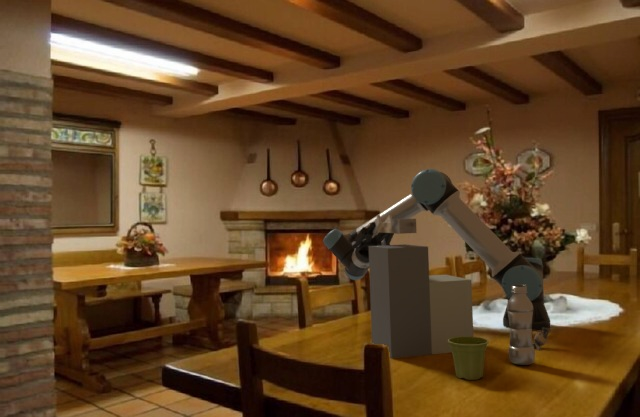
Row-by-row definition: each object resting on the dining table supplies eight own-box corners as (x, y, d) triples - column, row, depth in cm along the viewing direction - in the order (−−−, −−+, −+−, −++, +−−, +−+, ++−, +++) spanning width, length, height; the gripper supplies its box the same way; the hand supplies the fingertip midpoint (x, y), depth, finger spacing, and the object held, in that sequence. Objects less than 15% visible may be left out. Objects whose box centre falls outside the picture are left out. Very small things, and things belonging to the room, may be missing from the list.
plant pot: (443, 372, 135) (442, 337, 135) (481, 370, 135) (479, 335, 136) (456, 383, 125) (455, 345, 125) (496, 381, 126) (495, 343, 126)
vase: (544, 345, 159) (544, 324, 159) (555, 350, 154) (556, 329, 154) (527, 346, 158) (527, 325, 158) (538, 352, 153) (539, 330, 152)
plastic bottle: (535, 361, 142) (532, 284, 142) (536, 368, 135) (533, 287, 136) (508, 360, 144) (505, 284, 144) (508, 367, 137) (505, 287, 138)
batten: (366, 232, 178) (366, 219, 178) (381, 231, 179) (380, 219, 179) (399, 233, 151) (399, 219, 151) (416, 232, 152) (415, 218, 152)
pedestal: (371, 345, 165) (368, 246, 165) (447, 338, 171) (444, 242, 172) (391, 358, 149) (387, 248, 150) (473, 350, 155) (470, 244, 156)
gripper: (389, 261, 188) (412, 228, 168) (344, 264, 184) (362, 230, 164) (385, 242, 192) (406, 207, 172) (340, 244, 188) (358, 208, 168)
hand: (385, 218), depth 168 cm, fingers closed on batten, 3 cm apart
